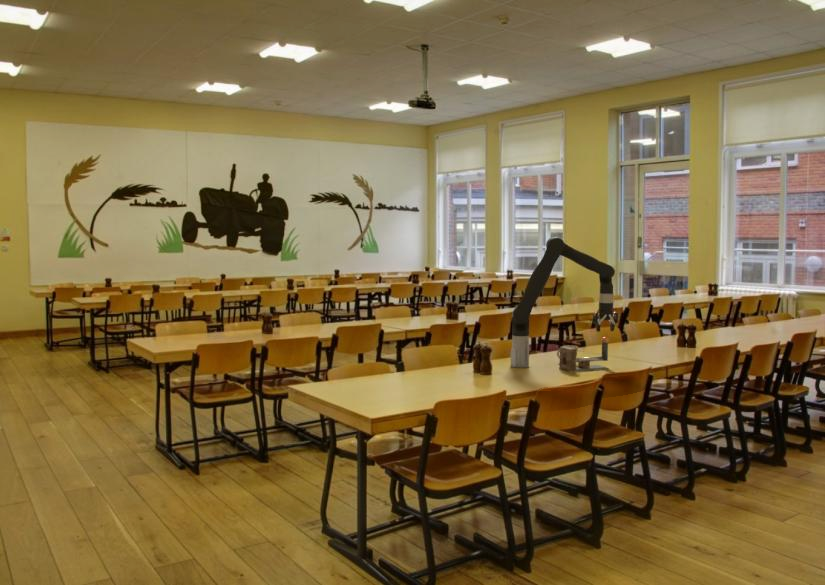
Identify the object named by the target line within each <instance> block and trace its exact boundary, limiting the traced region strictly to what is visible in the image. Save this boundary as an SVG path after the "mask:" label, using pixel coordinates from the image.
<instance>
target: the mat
mask: <svg viewBox="0 0 825 585" xmlns="http://www.w3.org/2000/svg"><path fill="white" fill-rule="evenodd" d="M558 369H560V366H559V367H558ZM562 369H563V368H562ZM562 369H560V370H562ZM602 370H603V371H604V370H606V371H607V370H610V368H609V367H606V366H603V365H599V364H590V368H587V369H582V368H579V367H578V365H576V370H572V371H569V373H572V372H573V373H574V372H588V371H602ZM566 372H568V371H567V370H566Z"/></svg>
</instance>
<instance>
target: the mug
mask: <svg viewBox="0 0 825 585" xmlns="http://www.w3.org/2000/svg"><path fill="white" fill-rule="evenodd" d="M564 346H567V347H571V348H574V349H576V358H578V357H577V356H578V350H579V349H578V348H579V346H578V345H573V344H571V345H569V344H567V345H566V344H565V345H562V347H564ZM556 356H557V358H558V359H559V360H560V348H559V349H557V351H556Z"/></svg>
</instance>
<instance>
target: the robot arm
mask: <svg viewBox="0 0 825 585" xmlns="http://www.w3.org/2000/svg"><path fill="white" fill-rule="evenodd" d="M545 246H546V250H545V251H544V254H543V256H542V258H541V260H540V261H539V263H538V264H537V265H536V266H535V268H534V270H533V271H532V273H531V275H530V277H529V279H528V281H527V283H526V287H525V288H524V292H523V294H522V297H521V300H520V301H519V303H518V305H517V306H516V307H515V308H514V309H513V311H512V320H511V321H512V322H511V323H512V328H511V333H512V334H511V338H512V339H511V341H512V342H511V343H512V344H511V346H512V347H511V349H510V366H511V367H514V368H519V369H520V368H529V366H530V315H531V313H532V310H533V308H534V305H535V304H536V302H537V300H538V299H539V297H540V296H541V294H542V292H543V291H544V289H545V286H546V285H547V282H548V281H549V278H550V276H551V274H552V271H553V269H554V267H555V264H556V263H557V261H558V259H559V258H560V257H564V258H566V259H568V260H571V261H572V262H574V263H575V264H578V265H579V266H581V267H582V268H585V269H586V270H589V271H591V272H594V273H596V274H598V276H599V277H598V278H599V298H598V312H593V316H592V318H593V319H592V324H595V326H596V327H595V331H596V332H598V333H600V332H601V323H602V322H604V321H608V322H609V323H610V330H609V331H610V332H614V331H615V325H616V324H619V312H616V311H613V310H614V284H613V277H614V276H615V273H616V272H615V271H616V270H615V268H614V266H612V265H610V264H607V263H605V262H603V261H600V260H599V259H597V258H596V257H593V256H591V255H589V254H587V253H585V252H582V251H581V250H579V249H575V248H573V247H572V246H570V245H568V244H567V243H565V242H564V240H563V239H562V238H561V237H557V236H553V237H550V238H548V239H547V241H546V243H545Z"/></svg>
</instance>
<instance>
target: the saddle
mask: <svg viewBox="0 0 825 585" xmlns="http://www.w3.org/2000/svg"><path fill="white" fill-rule="evenodd" d="M577 363H578V364H577V366H578V367H579V368H582V369H587V368H590V365H591V362H590V360H582V362H577Z"/></svg>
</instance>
